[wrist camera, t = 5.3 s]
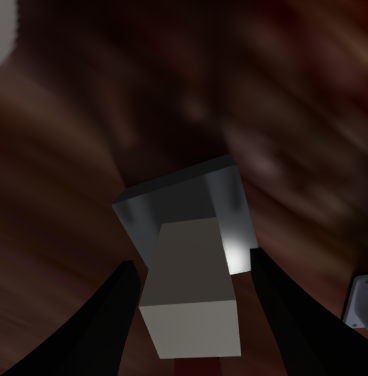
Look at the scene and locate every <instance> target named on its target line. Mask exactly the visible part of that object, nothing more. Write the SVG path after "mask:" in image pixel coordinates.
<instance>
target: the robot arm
mask: <svg viewBox="0 0 368 376" xmlns="http://www.w3.org/2000/svg"><path fill="white" fill-rule="evenodd" d="M250 266H251V276H252V280H253V283H254V286H255V290H256V293H257V295H258V298H259V300H260V303H261V305H262V308H263V310H264V312H265V315H266V317H267V320H268V322H269V325H270V327H271V329H272V332H273V334H274V337H275V339H276V342H277V345H278V347H279V350H280V353H281V356H282V359H283V362H284V365H285V368H286V371H287V374H288V376H368V339H367V338H365V337H364V336H362V335H361V334H360V333H358V332H357V331H355V330H354V329H352V328H362V327H365V328H366V329H367V330H368V275H360V276H357V277H355V278H354V282H353V285H352V289H351V293H350V296H349V300H348V304H347V308H346V311H345V315H344V319H343V321H341V320H340V319H339V318H338V317H336V316H335V315H334V314H332V313H331V312H330V311H328V310H327V309H326V308H325V307H323V306H322V305H321V304H320V303H318V302H317V301H316V300H315V299H314V298H312V297H311V296H310V295H309V294H308V293H307V292H305V291H304V290H303V289H302V288H301V287H300V286H299V285H298V284H297V283H295V282H294V281H293V280H292V279H291V278H290V277H289V276H288V275H287V274H286V273H285V272H284V271H283V270H282V269H281V268H280V267H279V266H278V265H277V264H276V263H275V262H274V261H273V260H272V259H271V258H270V257H269V256H268V254H267V253H266V252H265V251H264V250H263V249H262V248H261V247H260V248H250ZM140 287H141V282H140V279H139V276H138V274H137V271H136V268H135V266H134V263H133V260H131V261H123V262H122V263H121V264H120V265H119V267H118V268H117V269H116V270H115V271H114V272H113V273H112V275H111V276H110V277H109V278H108V279H107V280H106V281H105V283H104V284H103V285H102V286H101V287H100V288H99V289H98V290H97V291H96V293H95V294H94V295H93V296H92V297H91V298H90V299H89V300H88V301H87V302H86V303H85V304H84V305H83V306H82V307H81V308H80V309H79V310H78V311H77V312H76V313H75V314H74V315H73V316H72V317H71V318H70V319H69V320H68V321H67V322H66V323H65V324H63V325H62V326H61V327H60V328H59V329H58V330H57V331H56V332H55V333H53V334H52V335H51V336H50V337H49V338H47V339H46V340H45V341H44V342H43V343H41V344H40V345H39V346H38V347H37V348H36V349H34V350H33V351H32V352H31V353H29V354H28V355H27V356H26V357H24V358H23V359H22V360H20V361H19V362H18V363H17V364H15V365H14V366H13V367H11V368H10V369H9V370H7V371H6V372H5V373H3V374H2V375H1V376H117V374H118V370H119V365H120V361H121V357H122V353H123V349H124V345H125V342H126V339H127V335H128V332H129V329H130V326H131V322H132V319H133V316H134V313H135V309H136V306H137V303H138V298H139V293H140Z"/></svg>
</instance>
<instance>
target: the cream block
mask: <svg viewBox="0 0 368 376" xmlns="http://www.w3.org/2000/svg"><path fill="white" fill-rule="evenodd" d="M139 309H140V311H141V314H142V316H143V318H144V321H145V323H146V326H147V328H148V331H149V333H150V335H151V338H152V340H153V343H154V345H155V347H156V350H157V352H158V355H159V357H160V359H162V358H191V357H221V356H241V351H240V340H239V329H238V318H237V307H236V298H235V294H234V290H233V285H232V281H231V276H230V272H229V268H228V263H227V259H226V255H225V250H224V246H223V242H222V237H221V233H220V229H219V224H218V220H217V217H213V218H205V219H197V220H189V221H180V222H172V223H164V224H162V226H161V229H160V233H159V236H158V240H157V243H156V247H155V250H154V254H153V258H152V261H151V265H150V268H149V272H148V275H147V279H146V282H145V286H144V289H143V293H142V297H141V300H140V304H139Z"/></svg>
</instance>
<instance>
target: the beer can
mask: <svg viewBox="0 0 368 376" xmlns="http://www.w3.org/2000/svg"><path fill="white" fill-rule="evenodd" d="M173 376H222V370H221V363H220V361H219V360H218V358H217V357H191V358H176V360H175V363H174V375H173Z"/></svg>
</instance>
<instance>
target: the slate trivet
mask: <svg viewBox="0 0 368 376" xmlns="http://www.w3.org/2000/svg"><path fill="white" fill-rule="evenodd" d="M111 206H112V207H113V209H114V211H115V212H116V214H117V216H118V218H119V219H120V221H121V223H122V225H123V226H124V228H125V230H126V231H127V233H128V235H129V237H130V238H131V240H132V242H133V243H134V245H135V247H136V249H137V250H138V252H139V254H140V255H141V257H142V259H143V261H144V262H145V264H146V266H147V267H148V269H149V268H150V265H151V261H152V258H153V254H154V250H155V247H156V243H157V240H158V236H159V233H160V229H161V226H162V224H164V223H172V222H180V221H189V220H197V219H205V218H213V217H217V220H218V224H219V229H220V233H221V237H222V242H223V246H224V250H225V255H226V259H227V263H228V268H229V272H230V275H231V274H236V273H240V272H245V271H250V270H251V266H250V248H258V244H257V240H256V236H255V232H254V228H253V224H252V221H251V217H250V213H249V209H248V205H247V201H246V197H245V193H244V189H243V185H242V181H241V178H240V174H239V170H238V166H237V163H236V162H235V161H234V160H233V159H232V158H231V156H230V155H229V154H226V155H223V156H220V157H217V158H214V159H211V160H208V161H205V162H202V163H199V164H196V165H193V166H190V167H187V168H184V169H181V170H179V171H176V172H173V173H170V174H167V175H164V176H161V177H158V178H155V179H152V180H149V181H146V182H143V183H140V184H137V185H134V186H131V187H128V188H126V189H125V190H124V191H123V192H122V193H121V194H120V195H119V197H118V198H117V199H116V200H115V201H114V202H113V203H112V204H111Z"/></svg>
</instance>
